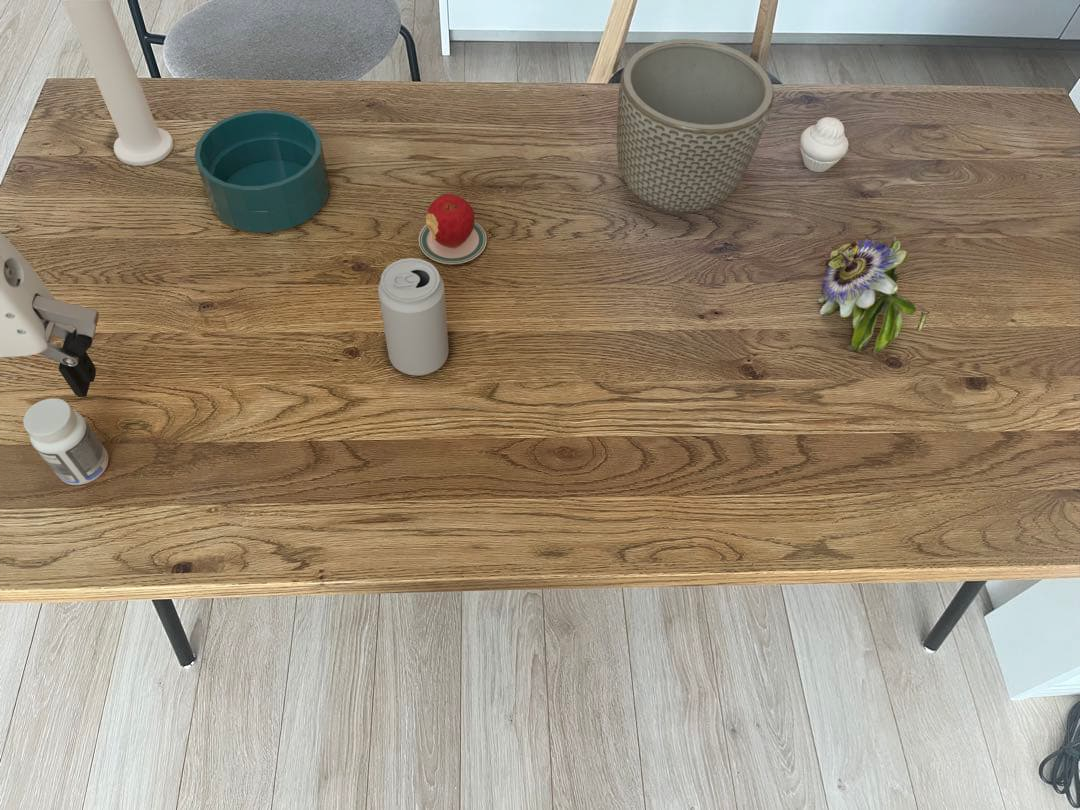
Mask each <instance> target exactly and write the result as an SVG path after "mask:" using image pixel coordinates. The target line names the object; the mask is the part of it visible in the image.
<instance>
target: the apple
mask: <svg viewBox="0 0 1080 810" xmlns="http://www.w3.org/2000/svg"><path fill="white" fill-rule="evenodd" d="M475 216H476V215H475V211H474V208H473V207H472V206H471V204H470V203H469V202H468V201H467V200H466V199H464V198H463V197H461V196H459V195H457V194H453V193H447V194H442V195H440V196H438V197H437V198H435V199H434V200H433V201H432V203H431V204H429V207H428V208H427V211H426V215H425V223H426V224H425V225H424V226H423V227H422V229H421V230H420V232H419V234H418V245H419V248H420V251H421V252H422V253H423V254H424V255H425V256H426V257H427V258H428V259H431V260H432V261H434V262H436V263H440V264H444V265H460V264H465V263H469V262H470V261H472V260H474V259H476V258H477V257H479V256H480V255H482V253H483V252H484V250H485V248H486V246H487V234H486V231H485V230H484V228H483V227H482V226H481V225H480V223H478V222H477V221H476V217H475Z"/></svg>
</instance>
